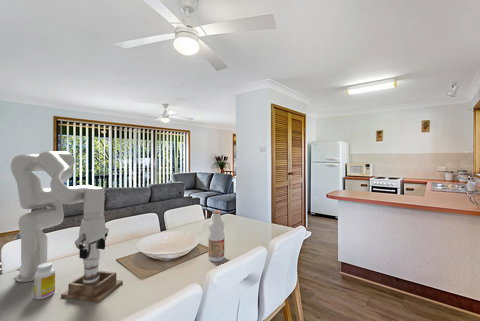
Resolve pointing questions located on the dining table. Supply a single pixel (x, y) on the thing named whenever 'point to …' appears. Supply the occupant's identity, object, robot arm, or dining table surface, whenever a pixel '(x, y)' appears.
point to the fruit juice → (216, 238)
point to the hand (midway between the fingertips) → (92, 253)
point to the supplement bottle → (44, 281)
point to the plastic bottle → (91, 265)
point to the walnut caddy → (92, 288)
